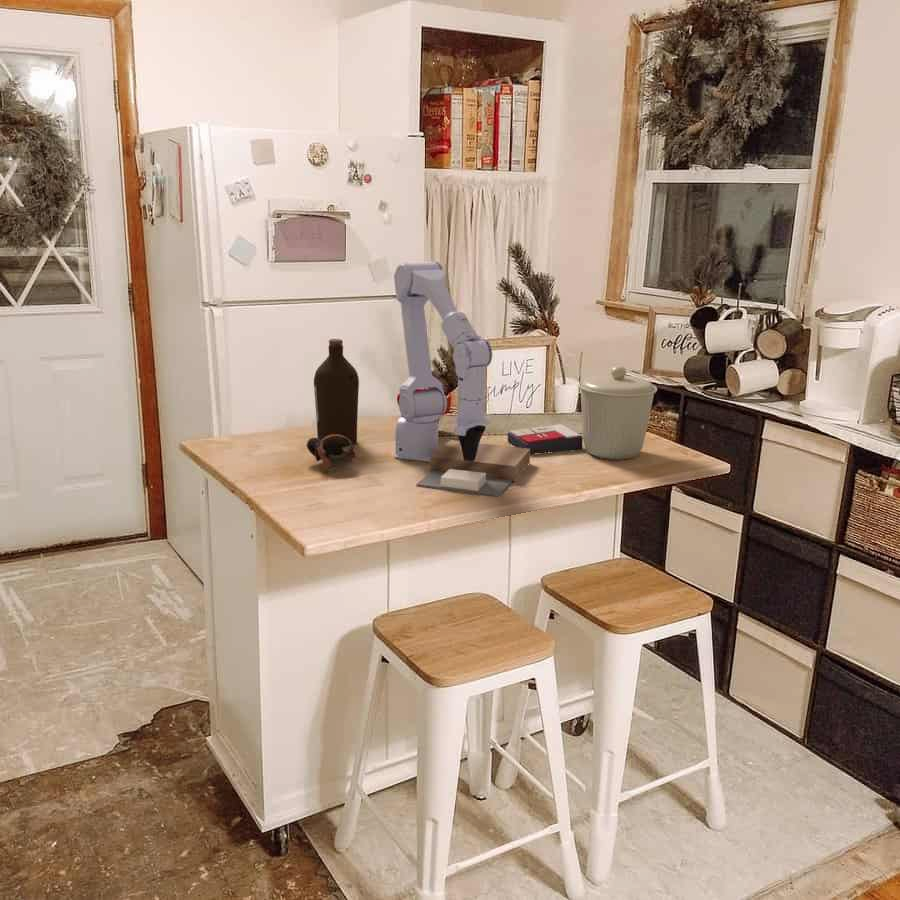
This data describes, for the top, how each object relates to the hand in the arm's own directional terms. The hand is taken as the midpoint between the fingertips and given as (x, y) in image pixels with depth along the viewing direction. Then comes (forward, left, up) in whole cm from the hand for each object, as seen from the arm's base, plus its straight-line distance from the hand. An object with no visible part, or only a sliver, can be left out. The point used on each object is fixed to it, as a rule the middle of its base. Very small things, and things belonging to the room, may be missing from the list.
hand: (469, 459), depth 190 cm
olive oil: (-38, +15, -5) cm, 41 cm away
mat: (0, -3, -4) cm, 5 cm away
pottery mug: (-31, -2, -5) cm, 32 cm away
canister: (+26, +31, -5) cm, 41 cm away
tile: (0, -4, -2) cm, 5 cm away
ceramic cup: (-23, +32, -5) cm, 40 cm away
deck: (0, +9, -4) cm, 10 cm away
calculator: (+10, +31, -5) cm, 33 cm away
